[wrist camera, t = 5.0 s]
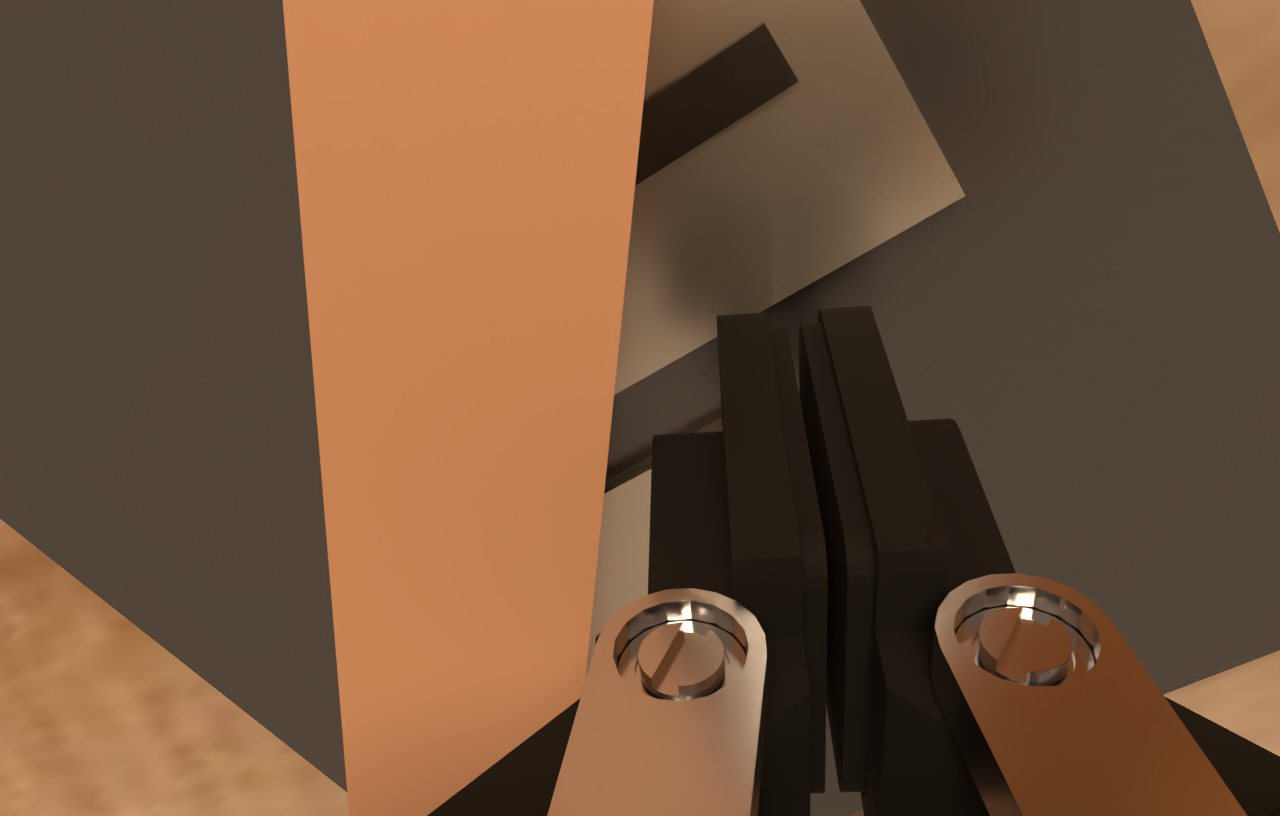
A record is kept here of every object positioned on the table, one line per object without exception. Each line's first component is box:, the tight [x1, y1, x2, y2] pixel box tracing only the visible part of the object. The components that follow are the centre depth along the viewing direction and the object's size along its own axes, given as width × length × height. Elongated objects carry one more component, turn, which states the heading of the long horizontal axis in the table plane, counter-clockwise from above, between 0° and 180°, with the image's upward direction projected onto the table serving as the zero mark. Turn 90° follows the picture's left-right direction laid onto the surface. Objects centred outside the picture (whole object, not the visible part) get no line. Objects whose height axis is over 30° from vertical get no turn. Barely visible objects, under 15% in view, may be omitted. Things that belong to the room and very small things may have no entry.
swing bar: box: [283, 0, 654, 816], centre depth 12 cm, size 18×3×3 cm, turn 174°
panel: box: [0, 0, 1280, 816], centre depth 12 cm, size 16×20×6 cm
